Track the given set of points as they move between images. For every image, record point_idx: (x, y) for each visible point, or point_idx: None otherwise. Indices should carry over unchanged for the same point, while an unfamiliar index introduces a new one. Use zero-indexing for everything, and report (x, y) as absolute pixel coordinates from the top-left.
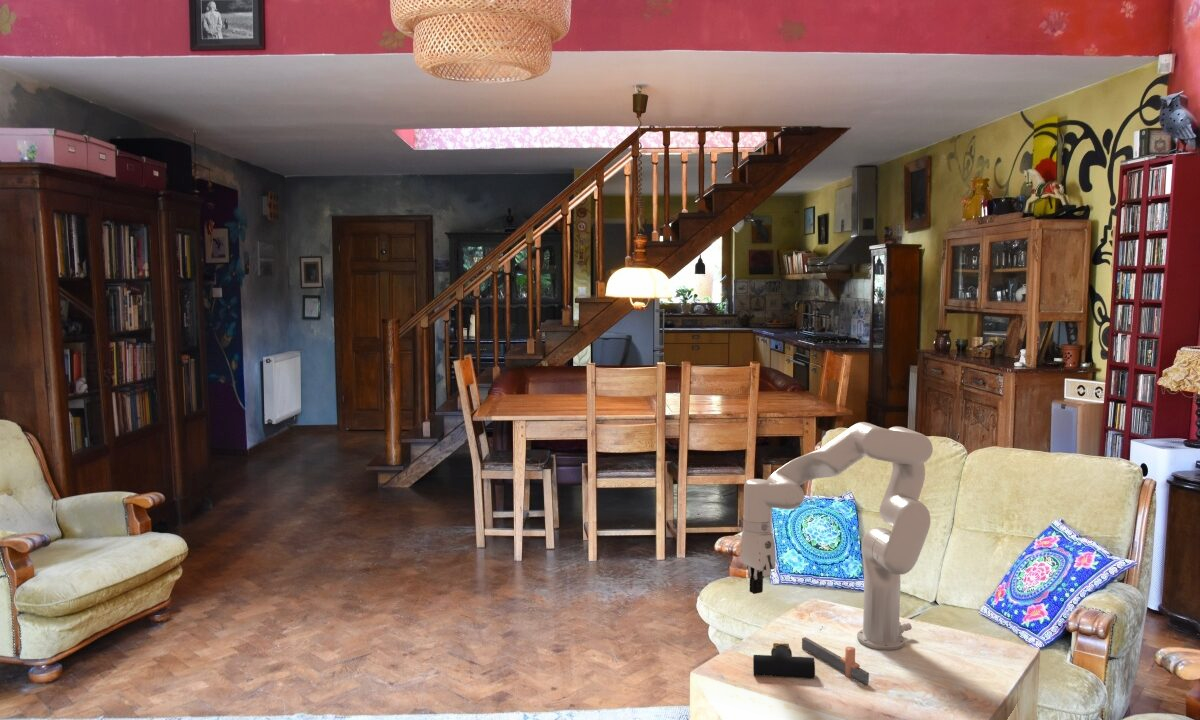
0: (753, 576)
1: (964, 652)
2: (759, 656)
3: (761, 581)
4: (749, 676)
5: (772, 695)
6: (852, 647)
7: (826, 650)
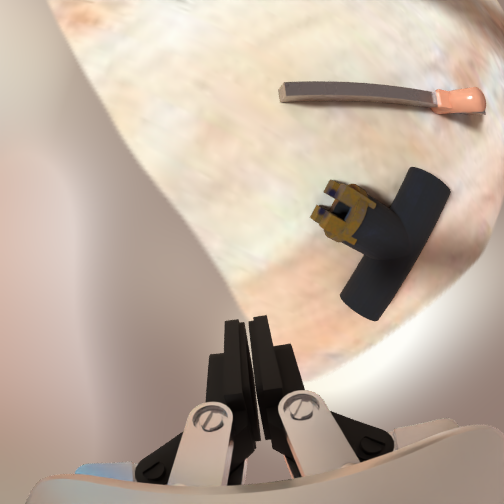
0: (253, 446)
1: None
2: (379, 308)
3: (302, 389)
4: None
5: (429, 298)
6: (476, 89)
7: (386, 91)
